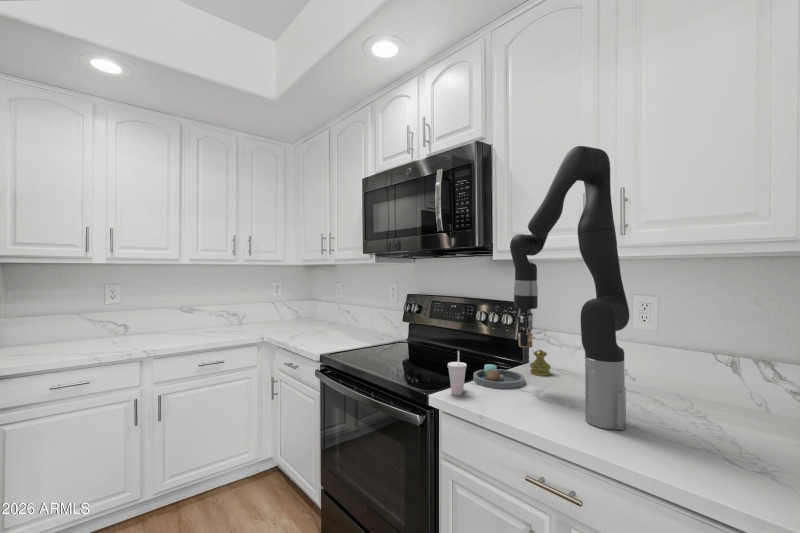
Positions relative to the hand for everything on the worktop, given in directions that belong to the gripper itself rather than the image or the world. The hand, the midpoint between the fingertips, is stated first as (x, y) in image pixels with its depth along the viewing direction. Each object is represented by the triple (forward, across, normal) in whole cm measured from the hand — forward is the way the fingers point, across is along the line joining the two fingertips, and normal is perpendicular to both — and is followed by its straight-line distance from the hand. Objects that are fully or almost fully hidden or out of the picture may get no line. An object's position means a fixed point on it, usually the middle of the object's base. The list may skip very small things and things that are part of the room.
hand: (525, 344), depth 126 cm
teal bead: (+15, +7, +14) cm, 21 cm away
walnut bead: (+15, -1, +10) cm, 18 cm away
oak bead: (+1, 0, 0) cm, 1 cm away
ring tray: (+16, +4, +10) cm, 19 cm away
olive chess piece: (+16, +21, -2) cm, 27 cm away
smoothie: (+16, -13, +19) cm, 28 cm away
